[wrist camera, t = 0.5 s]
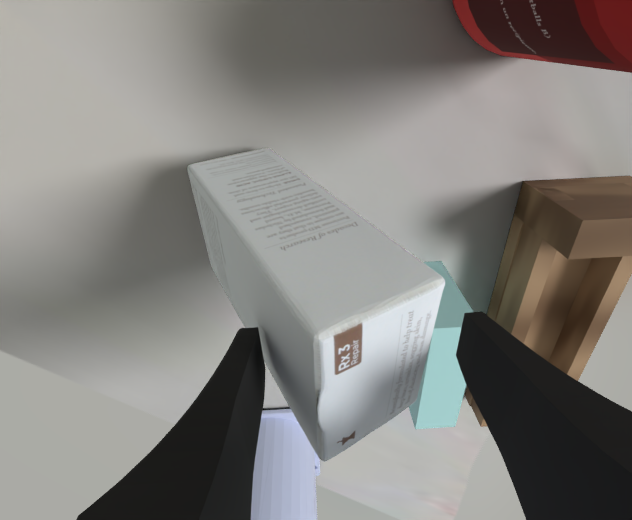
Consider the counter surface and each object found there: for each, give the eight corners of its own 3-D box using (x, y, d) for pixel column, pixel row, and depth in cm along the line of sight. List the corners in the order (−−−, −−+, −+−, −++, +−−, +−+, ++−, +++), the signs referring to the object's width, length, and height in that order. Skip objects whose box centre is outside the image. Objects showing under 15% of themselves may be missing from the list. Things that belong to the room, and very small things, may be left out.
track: (537, 390, 30) (577, 449, 26) (464, 395, 30) (492, 455, 26) (629, 175, 21) (716, 213, 16) (523, 181, 20) (582, 220, 16)
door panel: (425, 352, 27) (455, 426, 22) (392, 354, 27) (415, 429, 22) (440, 260, 23) (482, 325, 18) (402, 262, 23) (433, 328, 18)
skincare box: (279, 242, 22) (426, 403, 14) (204, 268, 20) (321, 471, 12) (268, 138, 18) (464, 275, 10) (175, 159, 16) (317, 348, 8)
